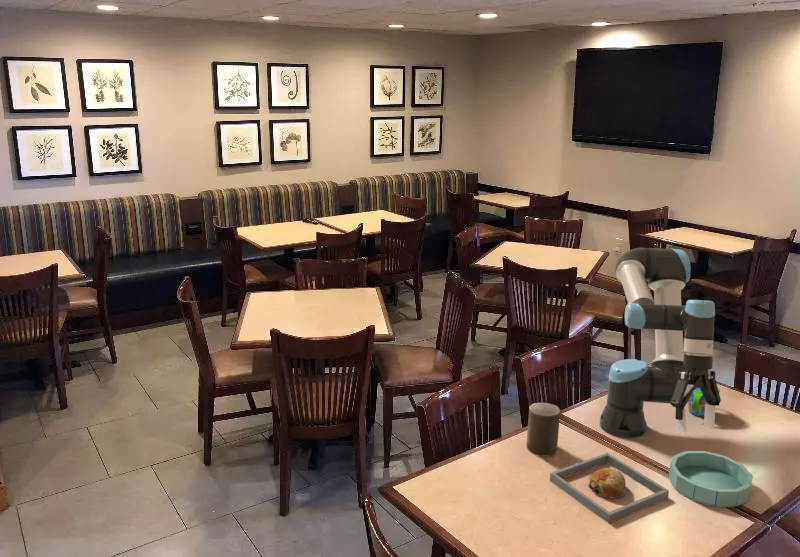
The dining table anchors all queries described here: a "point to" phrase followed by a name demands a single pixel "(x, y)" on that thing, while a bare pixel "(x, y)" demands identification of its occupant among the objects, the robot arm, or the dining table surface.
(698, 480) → the bowl
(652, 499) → the rectangular frame
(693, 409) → the snack cup
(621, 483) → the bread roll
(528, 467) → the dining table surface
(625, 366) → the robot arm
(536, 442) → the pillar candle
